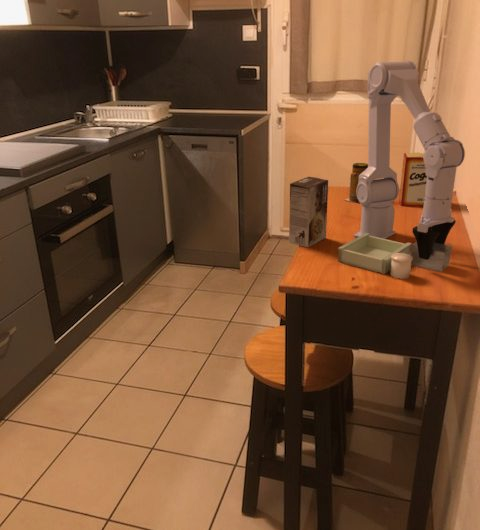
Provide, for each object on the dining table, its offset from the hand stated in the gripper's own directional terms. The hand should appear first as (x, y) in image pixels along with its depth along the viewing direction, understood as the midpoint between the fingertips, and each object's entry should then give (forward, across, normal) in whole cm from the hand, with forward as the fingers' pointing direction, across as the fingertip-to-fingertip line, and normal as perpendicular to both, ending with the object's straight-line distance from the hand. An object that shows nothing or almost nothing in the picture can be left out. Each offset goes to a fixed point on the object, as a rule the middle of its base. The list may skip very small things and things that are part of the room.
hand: (430, 253), depth 118 cm
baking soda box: (+3, +46, +24) cm, 52 cm away
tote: (+3, -5, +12) cm, 13 cm away
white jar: (+3, -10, +3) cm, 11 cm away
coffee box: (+3, -4, +32) cm, 32 cm away
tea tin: (+3, 0, 0) cm, 3 cm away
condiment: (+3, +39, +40) cm, 56 cm away
